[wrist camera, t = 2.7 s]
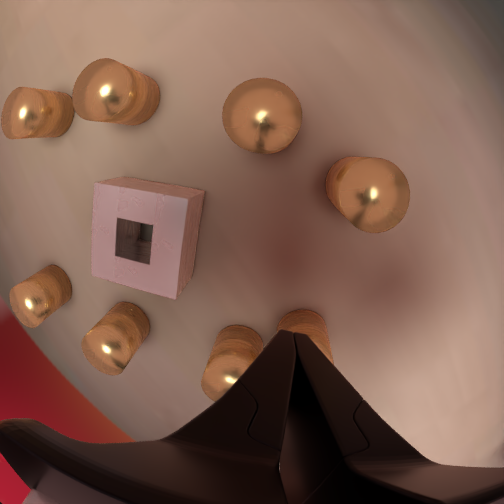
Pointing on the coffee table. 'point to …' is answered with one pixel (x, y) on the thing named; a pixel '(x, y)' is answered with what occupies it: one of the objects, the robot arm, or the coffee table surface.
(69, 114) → the spacers
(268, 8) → the coffee table surface
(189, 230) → the zinc nut
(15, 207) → the coffee table surface
